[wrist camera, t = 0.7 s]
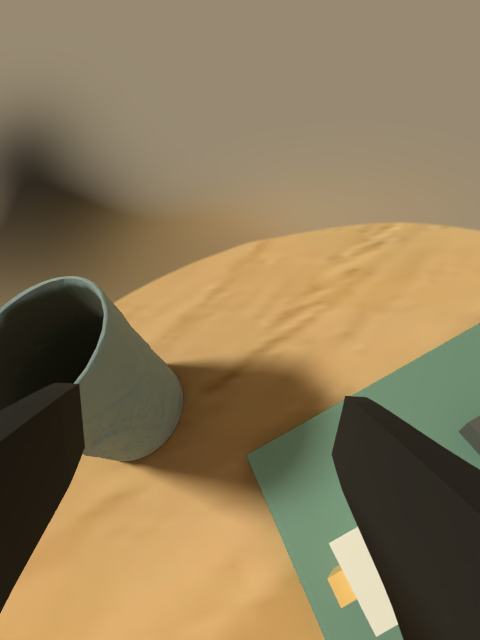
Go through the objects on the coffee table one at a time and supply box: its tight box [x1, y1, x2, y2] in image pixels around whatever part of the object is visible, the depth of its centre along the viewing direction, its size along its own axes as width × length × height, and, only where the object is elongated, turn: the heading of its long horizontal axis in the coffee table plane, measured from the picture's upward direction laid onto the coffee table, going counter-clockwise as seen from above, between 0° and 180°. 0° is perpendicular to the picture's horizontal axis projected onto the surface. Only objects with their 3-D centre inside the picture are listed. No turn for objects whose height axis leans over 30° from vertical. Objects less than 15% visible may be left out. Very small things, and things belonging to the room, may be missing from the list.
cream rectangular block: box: [327, 527, 398, 637], centre depth 15 cm, size 3×5×6 cm, turn 114°
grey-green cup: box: [0, 276, 183, 461], centre depth 23 cm, size 10×10×12 cm
